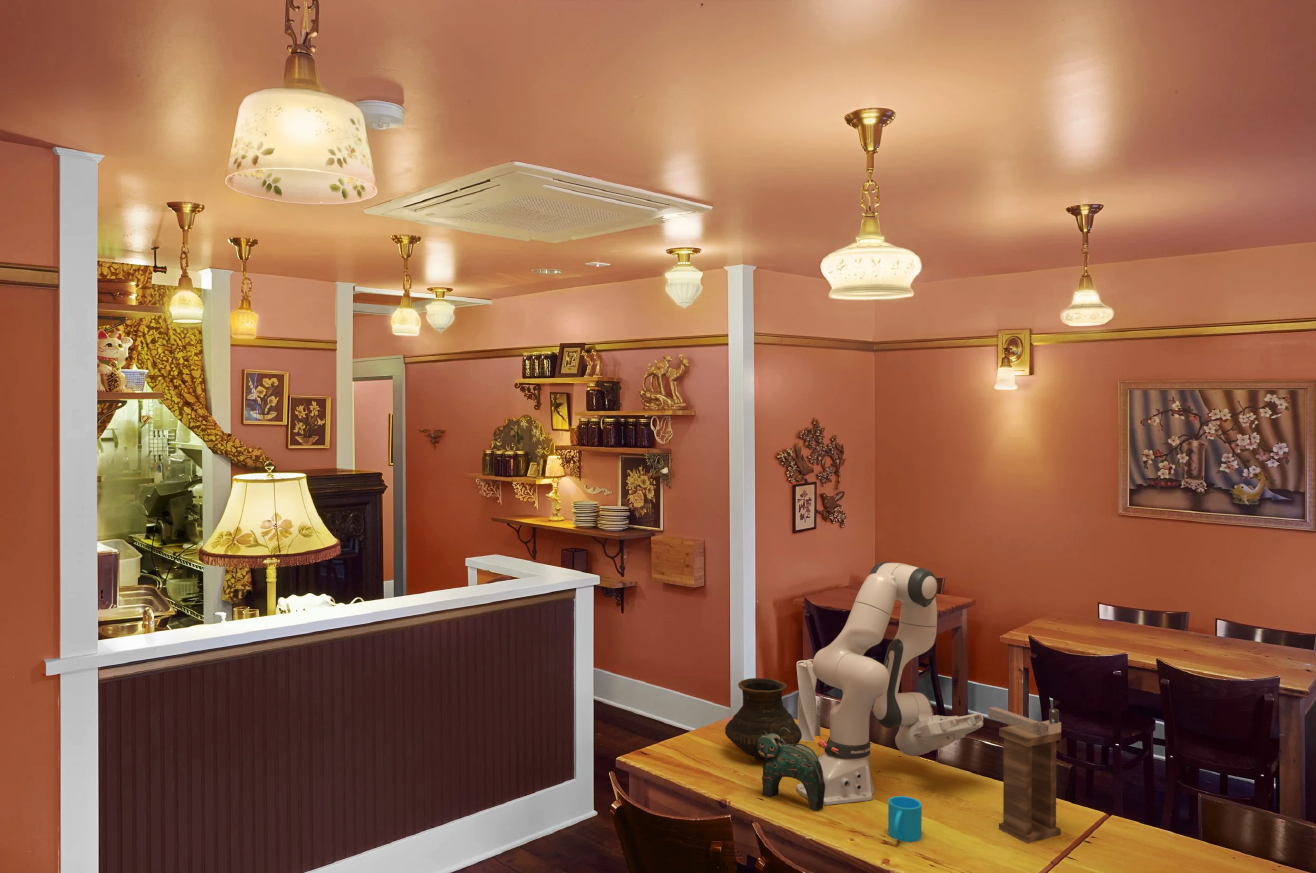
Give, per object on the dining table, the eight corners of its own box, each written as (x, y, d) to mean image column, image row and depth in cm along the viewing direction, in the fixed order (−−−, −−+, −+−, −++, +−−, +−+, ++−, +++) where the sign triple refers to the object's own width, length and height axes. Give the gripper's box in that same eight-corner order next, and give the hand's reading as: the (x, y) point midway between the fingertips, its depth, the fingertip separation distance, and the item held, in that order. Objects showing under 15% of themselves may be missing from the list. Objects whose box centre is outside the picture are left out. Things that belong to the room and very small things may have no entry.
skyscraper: (820, 745, 288) (820, 660, 289) (795, 743, 290) (795, 659, 290) (820, 737, 297) (821, 654, 297) (796, 735, 298) (797, 653, 299)
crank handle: (988, 717, 235) (988, 696, 235) (1007, 713, 238) (1007, 693, 238) (1041, 735, 219) (1041, 714, 219) (1061, 732, 223) (1061, 710, 223)
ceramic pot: (711, 756, 276) (711, 685, 276) (750, 737, 295) (750, 670, 295) (778, 774, 261) (778, 699, 262) (814, 752, 281) (814, 682, 281)
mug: (893, 825, 227) (893, 793, 227) (925, 832, 222) (925, 800, 223) (879, 842, 217) (879, 809, 217) (911, 850, 212) (912, 817, 212)
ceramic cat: (755, 794, 246) (755, 723, 246) (767, 788, 251) (768, 718, 251) (817, 814, 233) (817, 739, 233) (829, 806, 238) (829, 733, 238)
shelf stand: (1027, 843, 217) (1027, 738, 217) (998, 829, 225) (999, 728, 225) (1060, 834, 222) (1061, 732, 223) (1031, 820, 230) (1031, 722, 231)
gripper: (906, 725, 252) (937, 713, 241) (958, 715, 261) (989, 703, 251) (914, 748, 249) (945, 736, 239) (966, 737, 258) (998, 725, 248)
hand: (968, 719), depth 245 cm, fingers open, 8 cm apart
